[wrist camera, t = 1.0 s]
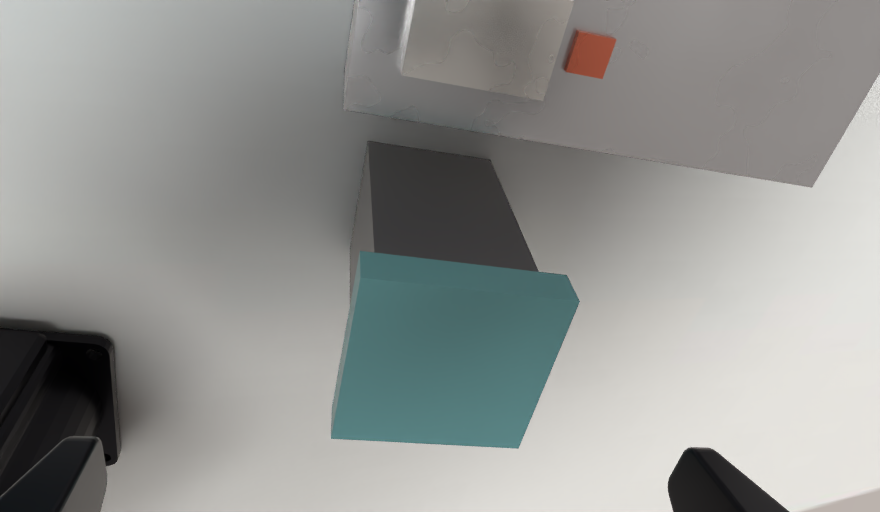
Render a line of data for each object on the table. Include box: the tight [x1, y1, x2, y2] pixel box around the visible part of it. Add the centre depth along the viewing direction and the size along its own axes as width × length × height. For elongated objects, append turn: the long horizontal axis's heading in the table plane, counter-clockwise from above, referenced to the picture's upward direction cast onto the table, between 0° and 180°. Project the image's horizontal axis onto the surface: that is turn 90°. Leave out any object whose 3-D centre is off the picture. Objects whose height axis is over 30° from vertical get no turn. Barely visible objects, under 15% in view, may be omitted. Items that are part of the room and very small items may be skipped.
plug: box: [331, 141, 580, 448], centre depth 18 cm, size 5×5×8 cm
